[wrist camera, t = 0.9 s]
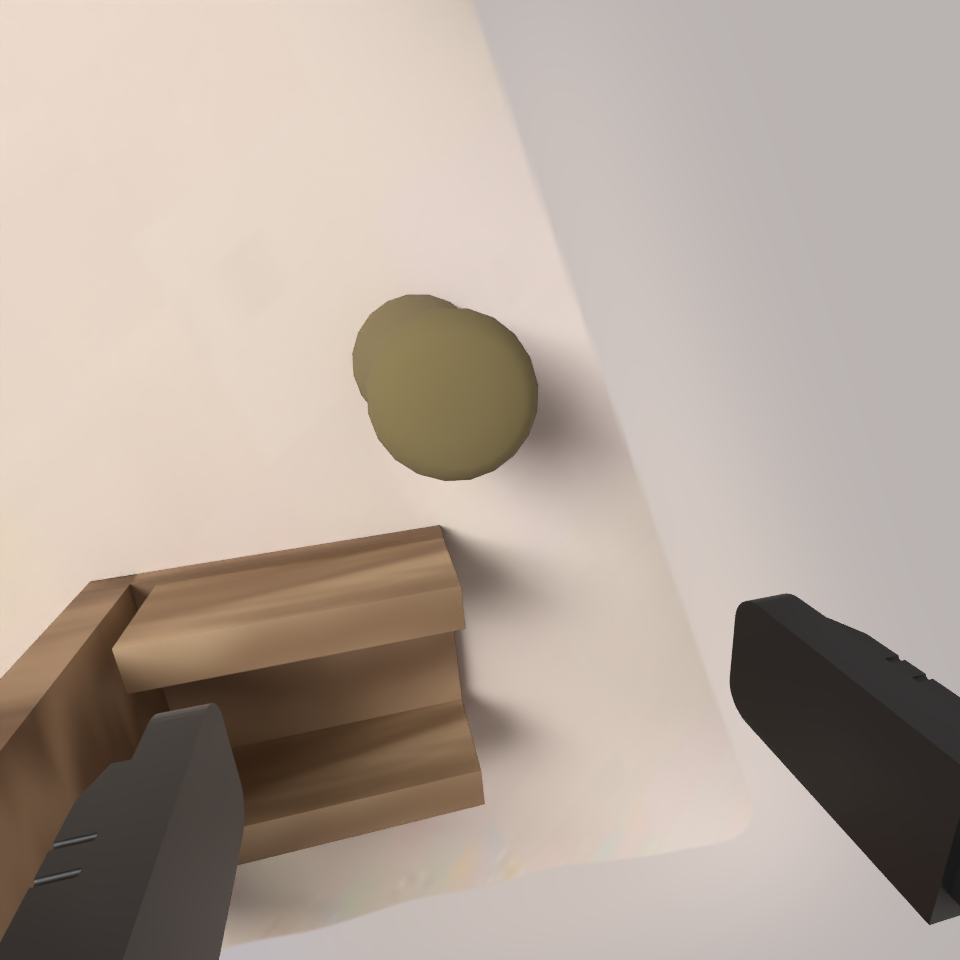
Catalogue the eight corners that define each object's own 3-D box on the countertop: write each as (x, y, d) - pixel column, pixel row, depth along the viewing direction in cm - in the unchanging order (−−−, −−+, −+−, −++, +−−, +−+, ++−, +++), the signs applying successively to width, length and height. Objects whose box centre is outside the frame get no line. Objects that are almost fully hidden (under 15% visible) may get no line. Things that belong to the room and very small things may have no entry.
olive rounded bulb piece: (345, 420, 26) (340, 499, 16) (359, 282, 25) (364, 272, 14) (473, 435, 28) (544, 516, 18) (494, 306, 26) (586, 312, 16)
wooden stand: (90, 581, 26) (-386, 1096, 9) (439, 525, 29) (560, 845, 12) (160, 787, 30) (-88, 1416, 13) (462, 720, 33) (578, 1170, 16)
